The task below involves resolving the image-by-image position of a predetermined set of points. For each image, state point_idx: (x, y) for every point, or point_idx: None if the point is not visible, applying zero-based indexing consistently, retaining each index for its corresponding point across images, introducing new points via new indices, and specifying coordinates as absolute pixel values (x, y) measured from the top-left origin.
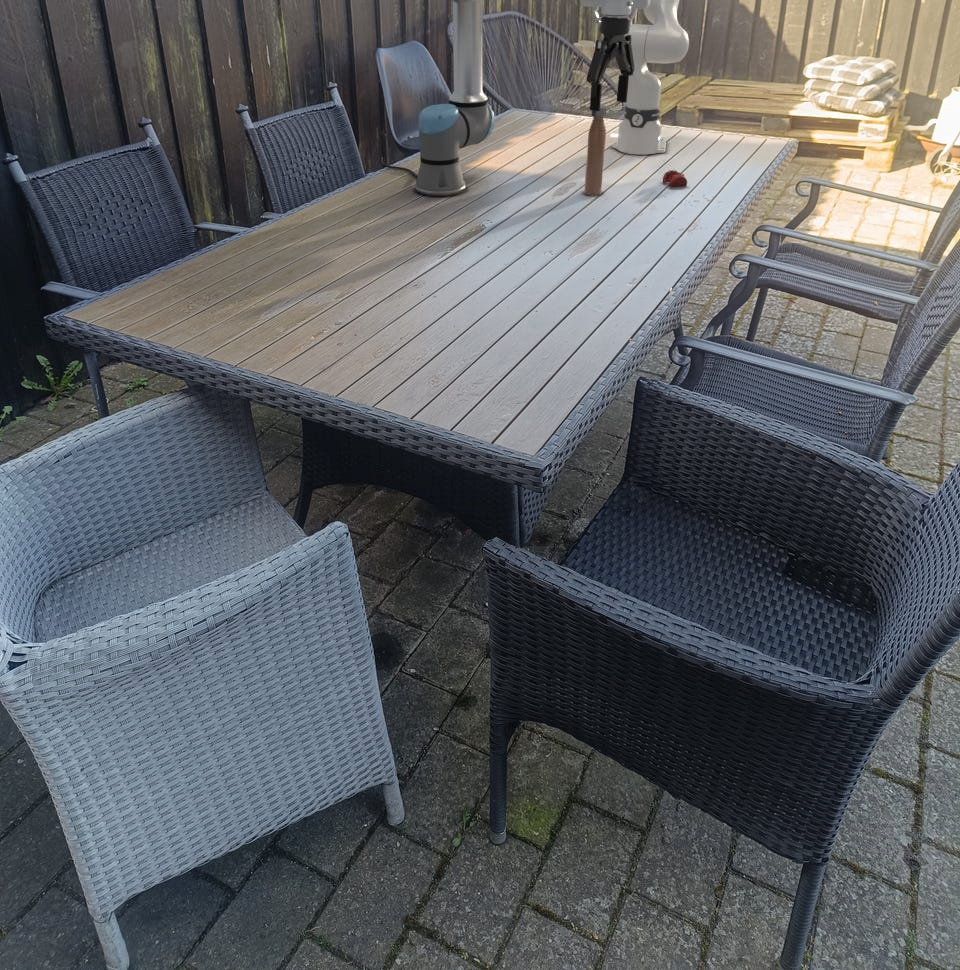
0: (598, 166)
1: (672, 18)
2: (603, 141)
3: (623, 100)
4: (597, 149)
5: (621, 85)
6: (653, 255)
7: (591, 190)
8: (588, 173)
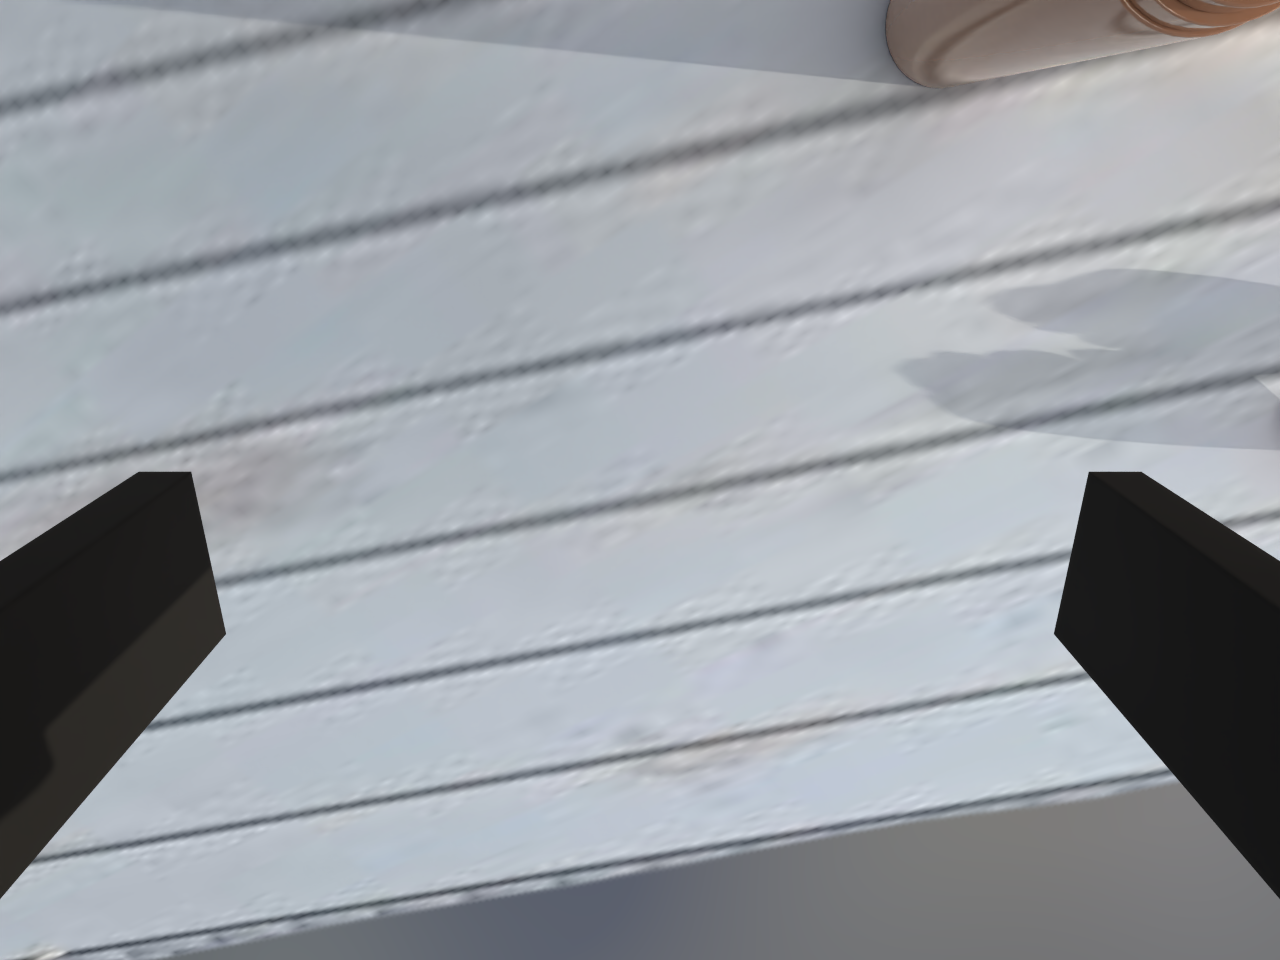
0: (983, 57)
1: None
2: (1128, 46)
3: (1078, 615)
4: (1035, 20)
5: (1271, 713)
6: (273, 787)
7: (898, 41)
8: None
